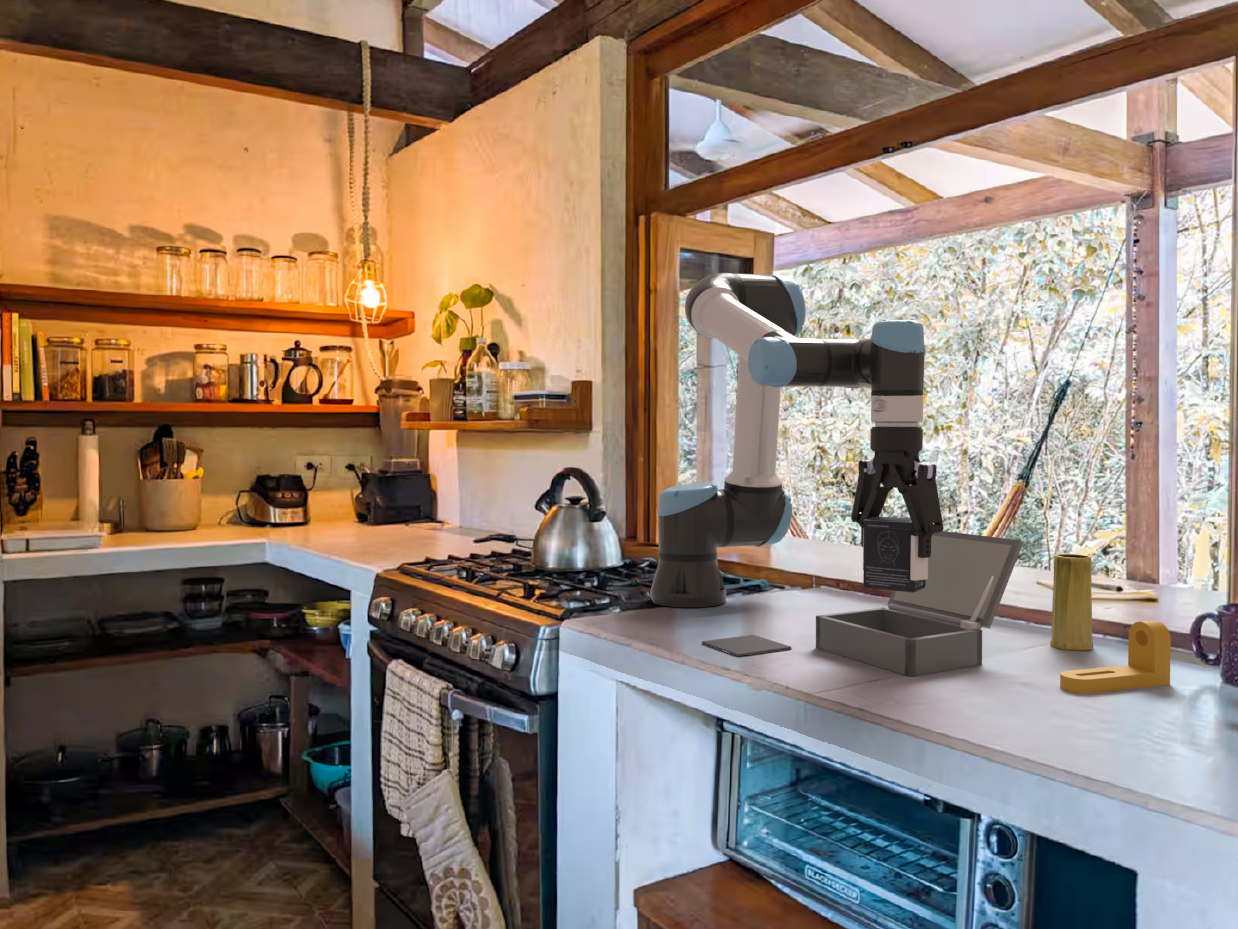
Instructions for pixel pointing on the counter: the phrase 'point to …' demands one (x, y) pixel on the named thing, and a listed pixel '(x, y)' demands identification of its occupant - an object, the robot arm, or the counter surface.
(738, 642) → the mat
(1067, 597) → the vase
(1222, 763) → the counter surface
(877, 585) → the box
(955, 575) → the case
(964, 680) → the counter surface
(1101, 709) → the counter surface
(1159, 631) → the bracket
